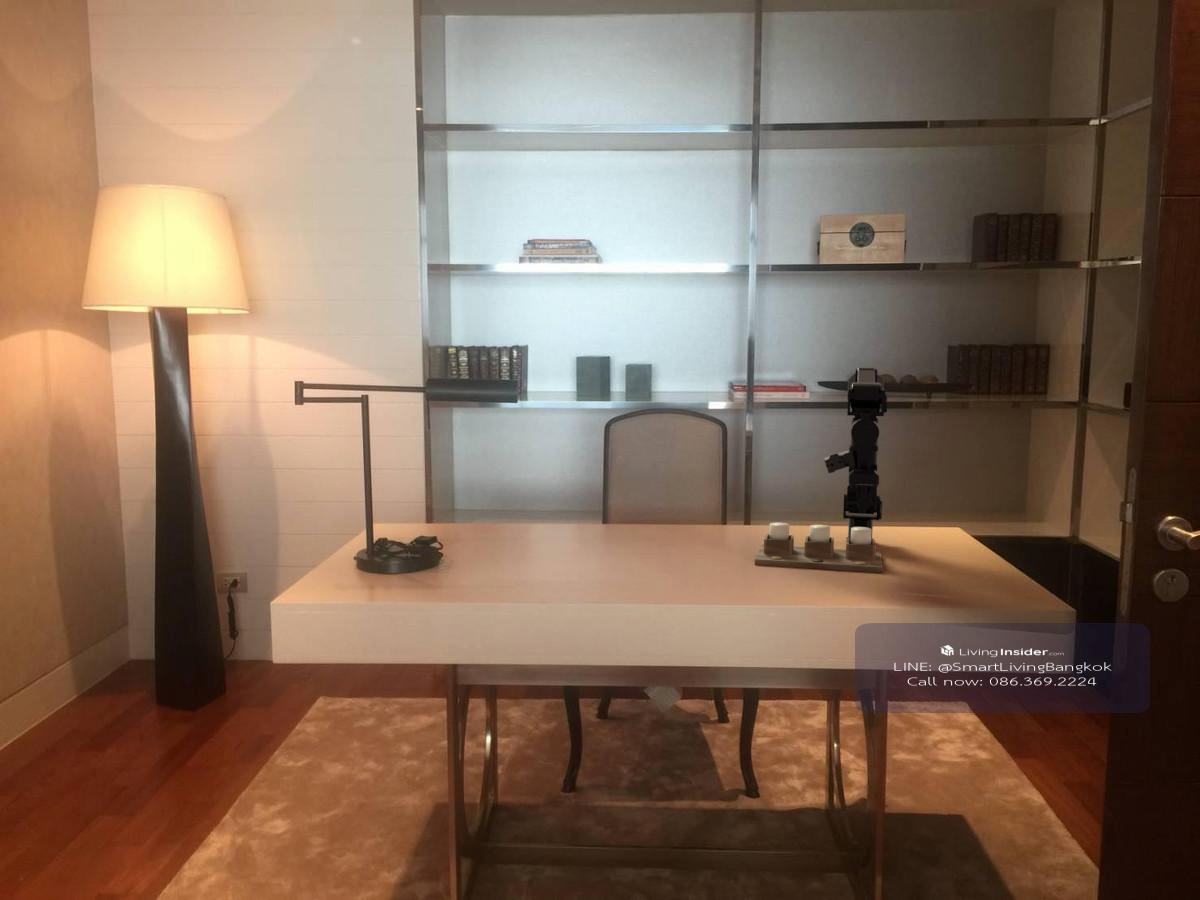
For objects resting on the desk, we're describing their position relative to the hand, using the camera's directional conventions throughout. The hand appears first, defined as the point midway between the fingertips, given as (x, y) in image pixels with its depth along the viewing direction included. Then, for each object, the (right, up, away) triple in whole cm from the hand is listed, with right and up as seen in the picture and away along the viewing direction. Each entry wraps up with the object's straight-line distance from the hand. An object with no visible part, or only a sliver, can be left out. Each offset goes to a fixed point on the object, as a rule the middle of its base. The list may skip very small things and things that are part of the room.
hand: (861, 509), depth 209 cm
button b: (-9, -8, +3) cm, 12 cm away
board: (-9, -12, +2) cm, 15 cm away
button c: (-17, -8, +6) cm, 20 cm away
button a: (0, -8, +1) cm, 8 cm away
